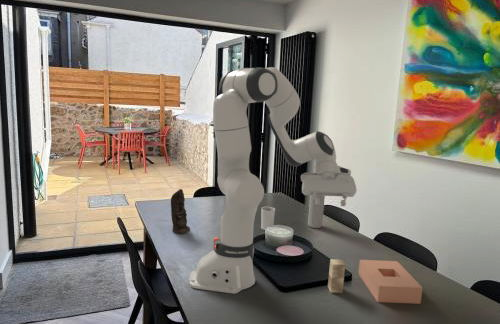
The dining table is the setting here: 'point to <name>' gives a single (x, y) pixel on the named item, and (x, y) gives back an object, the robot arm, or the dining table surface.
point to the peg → (336, 276)
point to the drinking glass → (267, 217)
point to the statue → (179, 213)
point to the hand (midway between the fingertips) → (330, 204)
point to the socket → (390, 282)
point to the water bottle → (316, 212)
